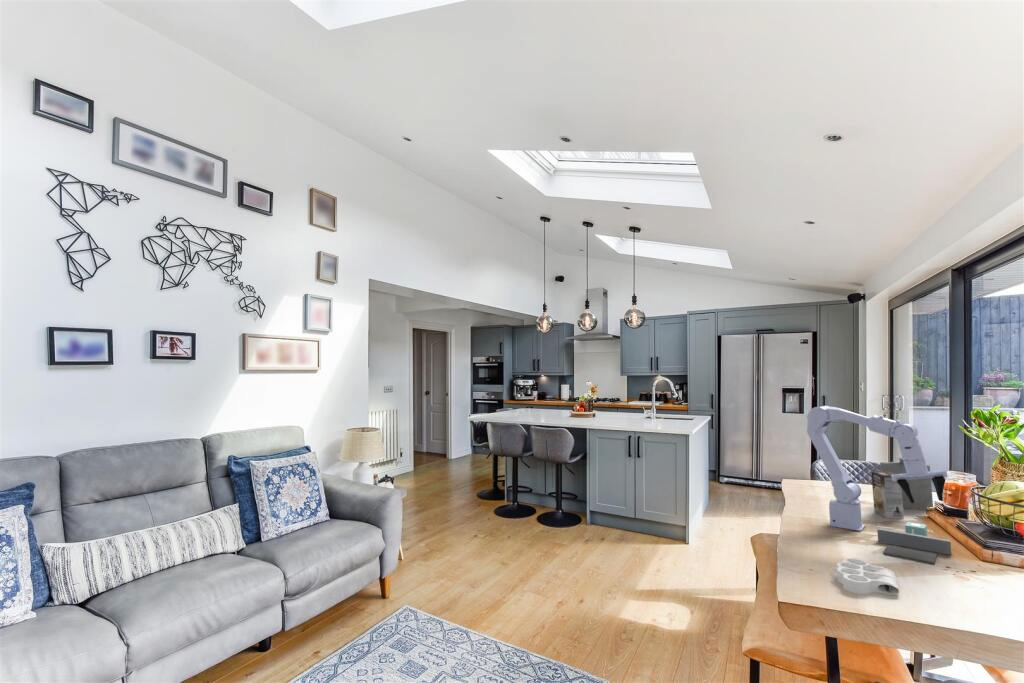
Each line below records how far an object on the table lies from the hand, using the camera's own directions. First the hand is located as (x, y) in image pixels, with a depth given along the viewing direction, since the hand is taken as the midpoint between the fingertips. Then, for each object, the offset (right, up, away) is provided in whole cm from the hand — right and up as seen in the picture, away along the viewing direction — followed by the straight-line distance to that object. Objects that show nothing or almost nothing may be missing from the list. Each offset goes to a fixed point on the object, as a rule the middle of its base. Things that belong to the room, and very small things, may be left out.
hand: (926, 501), depth 159 cm
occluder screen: (-8, -13, -5) cm, 16 cm away
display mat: (-15, -13, -11) cm, 22 cm away
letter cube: (-2, -13, +1) cm, 14 cm away
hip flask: (+24, -15, +37) cm, 47 cm away
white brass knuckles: (-41, -13, -28) cm, 52 cm away
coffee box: (+10, -15, +28) cm, 33 cm away
